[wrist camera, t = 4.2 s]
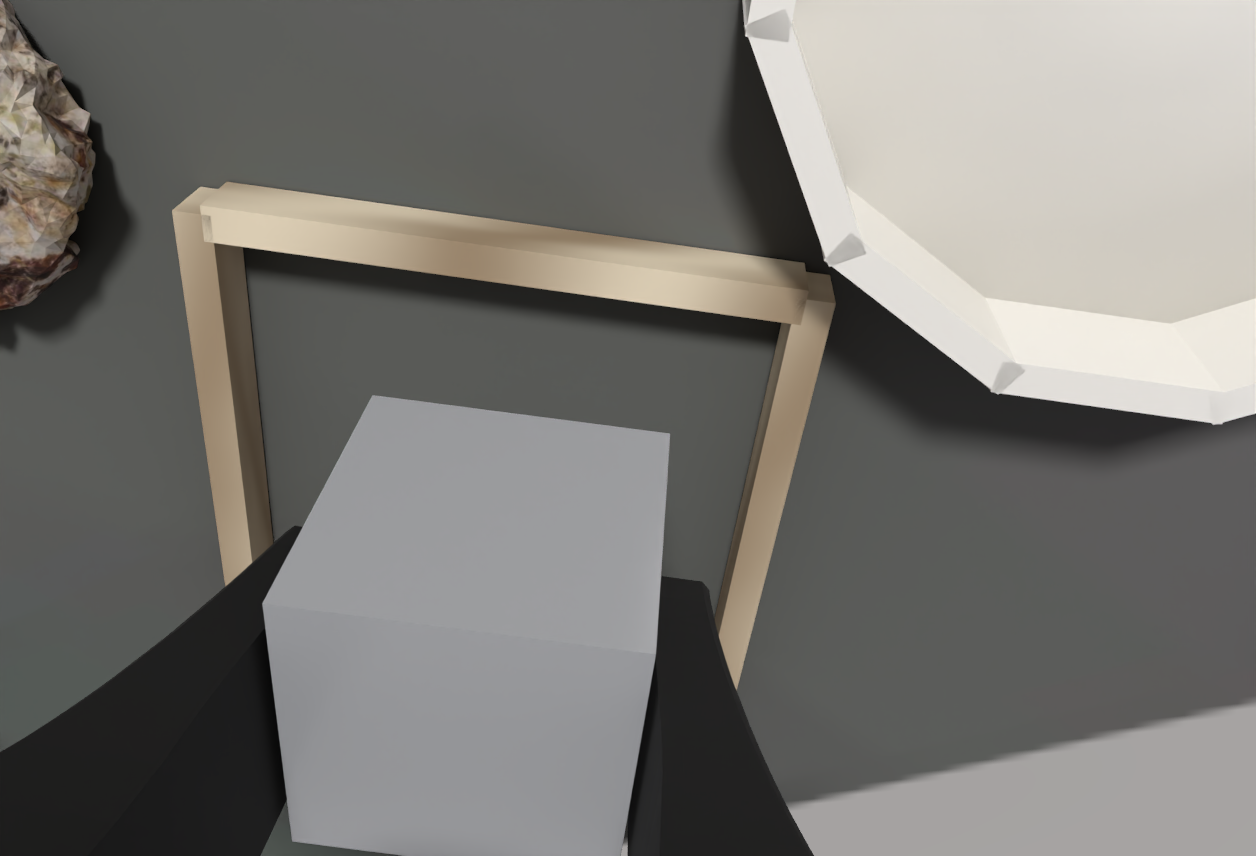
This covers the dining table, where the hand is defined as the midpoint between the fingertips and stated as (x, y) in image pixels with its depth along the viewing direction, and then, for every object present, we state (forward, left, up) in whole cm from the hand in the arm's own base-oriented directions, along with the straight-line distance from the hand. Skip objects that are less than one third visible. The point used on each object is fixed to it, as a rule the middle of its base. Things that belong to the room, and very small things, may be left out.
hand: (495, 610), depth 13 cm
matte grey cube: (0, 0, -2) cm, 2 cm away
